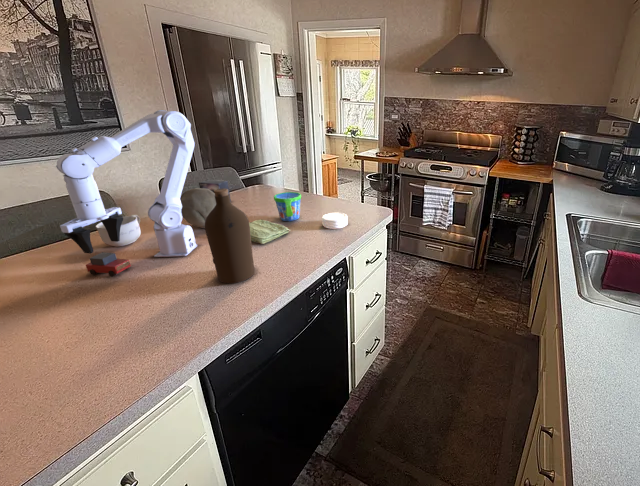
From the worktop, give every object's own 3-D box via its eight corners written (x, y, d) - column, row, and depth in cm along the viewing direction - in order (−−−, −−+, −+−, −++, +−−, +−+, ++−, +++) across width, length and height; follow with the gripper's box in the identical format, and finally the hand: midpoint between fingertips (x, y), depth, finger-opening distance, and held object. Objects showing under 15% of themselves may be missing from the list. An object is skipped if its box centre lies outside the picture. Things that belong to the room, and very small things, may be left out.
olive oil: (265, 270, 95) (252, 187, 86) (235, 288, 86) (218, 197, 77) (237, 263, 99) (222, 183, 90) (206, 280, 89) (186, 192, 80)
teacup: (120, 251, 105) (113, 228, 102) (93, 247, 107) (85, 225, 104) (158, 234, 118) (153, 213, 115) (134, 231, 120) (128, 211, 117)
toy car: (88, 274, 91) (82, 258, 89) (104, 266, 95) (98, 251, 94) (117, 277, 90) (112, 260, 88) (132, 268, 95) (127, 252, 93)
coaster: (336, 231, 123) (335, 222, 122) (317, 225, 128) (316, 217, 126) (353, 223, 131) (352, 215, 130) (334, 218, 136) (334, 210, 134)
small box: (202, 204, 150) (197, 182, 147) (211, 200, 156) (207, 178, 153) (222, 205, 149) (218, 183, 145) (231, 201, 155) (228, 180, 151)
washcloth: (262, 246, 110) (261, 237, 108) (230, 235, 118) (228, 227, 117) (292, 233, 120) (291, 225, 119) (261, 224, 128) (260, 216, 127)
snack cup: (279, 213, 141) (276, 190, 137) (304, 211, 143) (302, 189, 139) (274, 226, 126) (270, 201, 123) (302, 224, 129) (299, 200, 125)
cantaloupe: (232, 221, 131) (226, 185, 126) (207, 234, 118) (199, 195, 113) (201, 218, 133) (194, 183, 128) (173, 231, 120) (163, 192, 115)
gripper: (70, 209, 78) (89, 259, 83) (125, 193, 92) (138, 237, 97) (45, 208, 79) (65, 257, 84) (103, 192, 92) (117, 235, 97)
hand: (102, 246), depth 90 cm, fingers open, 7 cm apart
